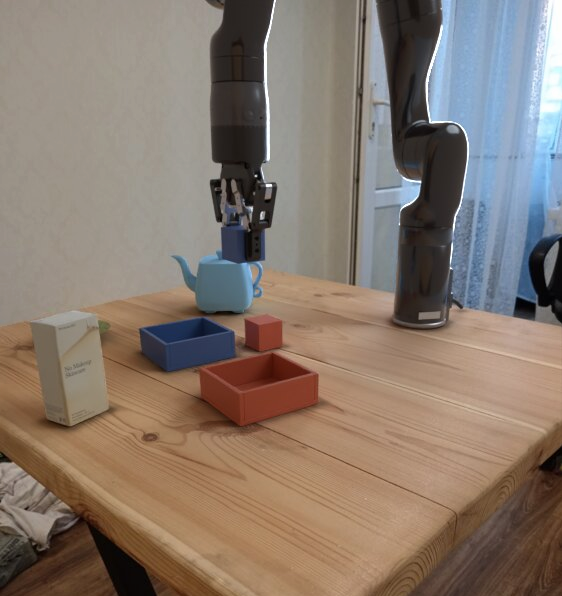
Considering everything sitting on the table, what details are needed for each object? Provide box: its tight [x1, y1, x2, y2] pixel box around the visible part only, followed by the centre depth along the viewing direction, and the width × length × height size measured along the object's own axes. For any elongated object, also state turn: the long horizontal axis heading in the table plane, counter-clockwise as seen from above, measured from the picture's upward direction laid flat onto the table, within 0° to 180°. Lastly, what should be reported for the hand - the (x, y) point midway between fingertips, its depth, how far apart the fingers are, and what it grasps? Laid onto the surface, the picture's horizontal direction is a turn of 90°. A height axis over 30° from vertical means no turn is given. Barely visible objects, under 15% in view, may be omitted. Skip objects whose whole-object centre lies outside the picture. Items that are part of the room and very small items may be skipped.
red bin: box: [198, 350, 320, 427], centre depth 72 cm, size 11×10×4 cm
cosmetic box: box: [29, 309, 110, 427], centre depth 67 cm, size 6×4×12 cm
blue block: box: [220, 224, 266, 264], centre depth 79 cm, size 4×4×4 cm
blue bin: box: [138, 316, 236, 373], centre depth 88 cm, size 11×10×4 cm
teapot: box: [169, 249, 264, 314], centre depth 113 cm, size 12×18×12 cm
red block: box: [244, 313, 283, 352], centre depth 92 cm, size 4×4×4 cm
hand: (243, 257), depth 80 cm, fingers closed on blue block, 4 cm apart
